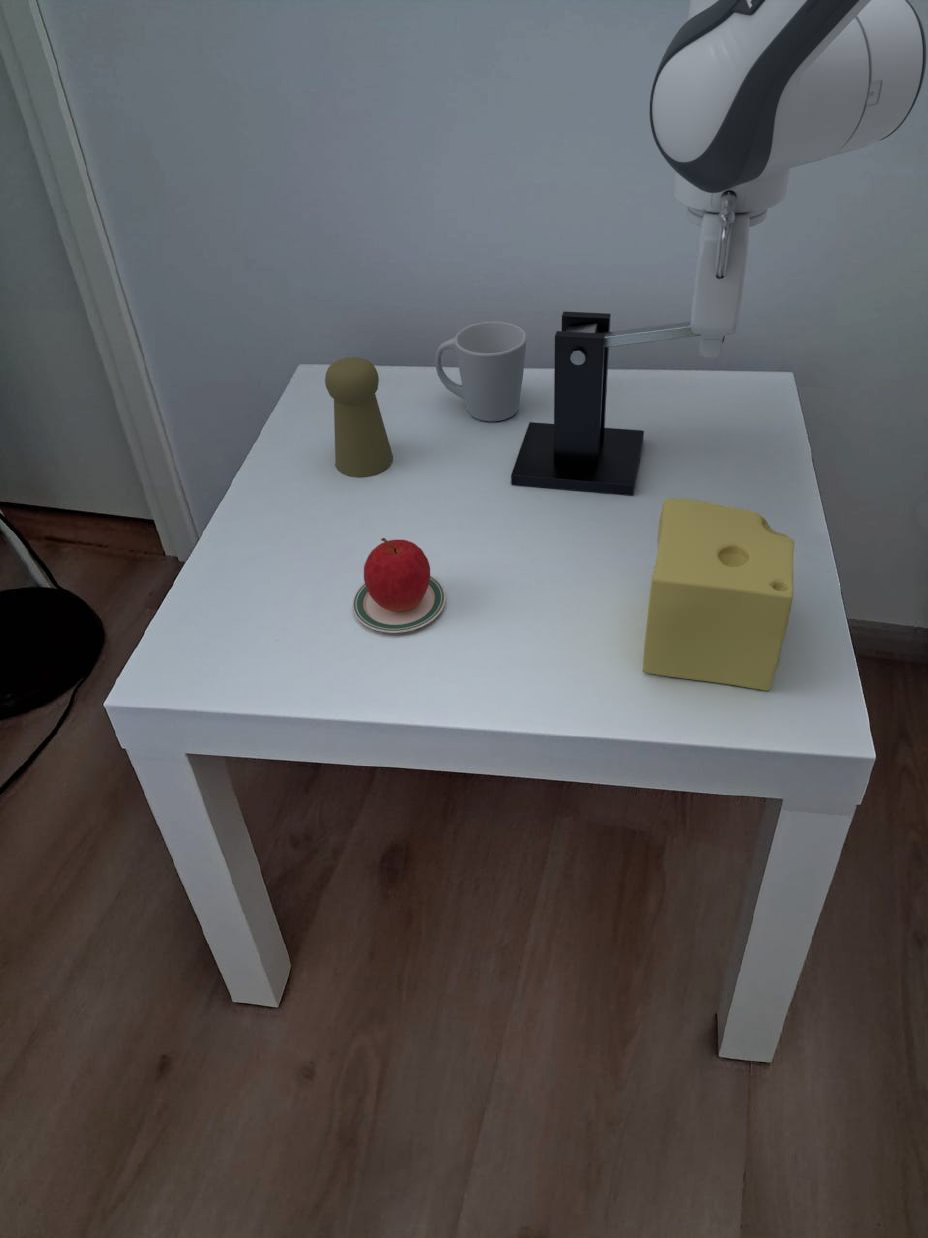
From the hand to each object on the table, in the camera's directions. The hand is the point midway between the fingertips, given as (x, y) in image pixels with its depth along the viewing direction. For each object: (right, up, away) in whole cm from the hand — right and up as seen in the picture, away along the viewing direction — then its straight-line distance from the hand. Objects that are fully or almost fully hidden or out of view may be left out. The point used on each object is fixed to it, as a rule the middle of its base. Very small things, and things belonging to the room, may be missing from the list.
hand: (711, 337), depth 83 cm
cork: (-32, -9, +15) cm, 37 cm away
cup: (-20, -2, +21) cm, 29 cm away
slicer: (-10, -9, +12) cm, 18 cm away
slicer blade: (-5, 0, +2) cm, 6 cm away
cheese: (-2, -27, -8) cm, 28 cm away
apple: (-28, -24, -2) cm, 37 cm away
